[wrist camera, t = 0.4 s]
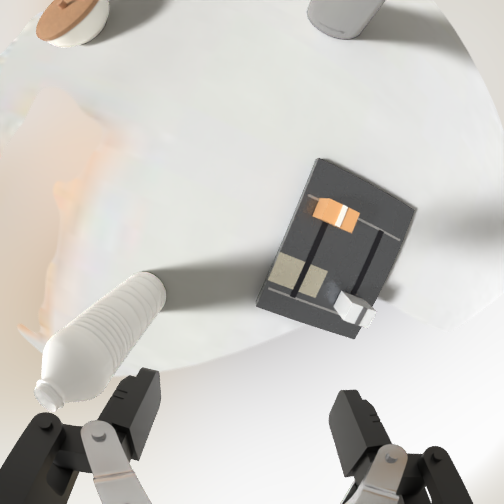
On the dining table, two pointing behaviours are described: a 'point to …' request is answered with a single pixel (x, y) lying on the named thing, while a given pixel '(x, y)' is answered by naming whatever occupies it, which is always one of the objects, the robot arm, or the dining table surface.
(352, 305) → the white banded fader cap
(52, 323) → the dining table surface
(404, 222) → the console
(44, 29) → the lidded bowl
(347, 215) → the fader orange
